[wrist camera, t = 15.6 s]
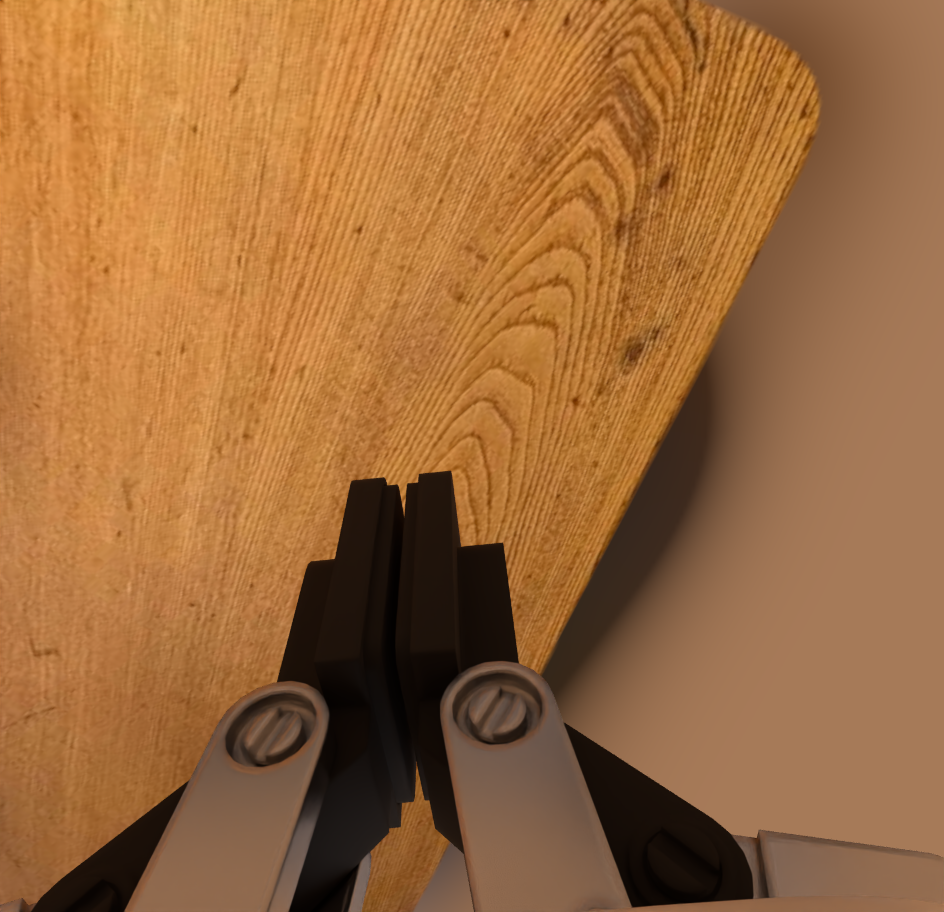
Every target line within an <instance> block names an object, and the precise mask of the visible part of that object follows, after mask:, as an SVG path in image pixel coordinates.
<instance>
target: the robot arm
mask: <svg viewBox="0 0 944 912" xmlns="http://www.w3.org/2000/svg"><path fill="white" fill-rule="evenodd" d="M416 761H417V766H418V771H419V776H420V781H421V785H422V790H423V795H424V799H425V800H430V805H431V810H432V815H433V820H434V825H435V829H436V830H438V831H439V832H440V833H441V834H442V835H443V836H444V837H445V838H447V839H448V840H449V841H450V842H451V843H452V844H453V845H454V846H456V847H457V848H458V849H459V850H460V851H461V852H462V853H463V854H464V858H465V864H466V870H467V875H468V881H469V886H470V892H471V897H472V902H473V908H474V912H944V857H941V856H938V855H934V854H931V853H925V852H918V851H910V850H904V849H896V848H889V847H882V846H875V845H867V844H860V843H852V842H845V841H838V840H830V839H823V838H815V837H808V836H800V835H794V834H786V833H779V832H772V831H765V830H759V831H758V836H757V838H752V837H745V836H738V835H731V834H730V833H729V832H728V831H727V830H726V829H724V828H723V827H722V826H721V825H720V824H718V823H717V822H716V821H715V820H714V819H712V818H711V817H709V816H708V815H706V814H705V813H703V812H702V811H700V810H698V809H697V808H695V807H694V806H692V805H691V804H689V803H688V802H686V801H685V800H683V799H681V798H680V797H678V796H677V795H675V794H674V793H672V792H671V791H669V790H668V789H666V788H665V787H663V786H661V785H660V784H658V783H657V782H655V781H654V780H652V779H651V778H649V777H648V776H646V775H644V774H643V773H641V772H640V771H638V770H637V769H635V768H634V767H632V766H630V765H629V764H627V763H626V762H624V761H623V760H621V759H620V758H618V757H617V756H615V755H614V754H612V753H611V752H609V751H607V750H606V749H604V748H603V747H601V746H600V745H598V744H597V743H595V742H594V741H592V740H590V739H589V738H587V737H586V736H584V735H583V734H581V733H580V732H578V731H577V730H575V729H573V728H572V727H570V726H569V725H567V724H566V723H564V722H563V720H562V717H561V714H560V712H559V709H558V706H557V703H556V701H555V698H554V695H553V693H552V691H551V689H550V688H549V686H548V684H547V682H546V681H545V680H544V679H543V678H542V677H541V676H540V675H539V674H537V673H536V672H535V671H534V670H532V669H530V668H528V667H525V666H523V665H521V664H519V661H518V653H517V646H516V638H515V630H514V622H513V615H512V607H511V599H510V592H509V584H508V576H507V568H506V561H505V553H504V546H503V543H494V544H484V545H474V546H464V547H461V543H460V535H459V527H458V519H457V511H456V503H455V495H454V487H453V479H452V473H451V471H444V472H434V473H423V474H419V478H418V483H408V484H407V490H406V503H405V516H404V513H403V507H402V501H401V496H400V490H399V487H398V485H388V486H387V482H386V479H385V478H384V477H383V478H373V479H363V480H353V481H351V484H350V489H349V493H348V498H347V503H346V508H345V513H344V518H343V522H342V527H341V532H340V537H339V542H338V547H337V551H336V556H335V559H331V560H320V561H311V562H310V563H309V564H308V566H307V569H306V572H305V576H304V579H303V583H302V587H301V591H300V595H299V599H298V603H297V606H296V610H295V614H294V618H293V622H292V626H291V630H290V633H289V637H288V641H287V645H286V649H285V653H284V657H283V661H282V664H281V668H280V672H279V676H278V680H277V682H276V683H271V684H269V685H266V686H263V687H260V688H257V689H255V690H253V691H252V692H250V693H248V694H247V695H245V696H243V697H241V698H240V699H239V700H238V701H237V702H236V703H235V704H234V705H233V706H231V707H230V708H229V709H228V710H227V711H226V713H225V714H224V716H223V717H222V719H221V720H220V722H219V723H218V725H217V727H216V729H215V731H214V733H213V735H212V737H211V739H210V741H209V743H208V745H207V747H206V749H205V751H204V753H203V755H202V757H201V759H200V761H199V763H198V765H197V767H196V769H195V771H194V773H193V775H192V777H191V779H190V780H189V781H188V782H186V783H185V784H184V785H182V786H181V787H180V788H179V789H177V790H176V791H175V792H173V793H172V794H171V795H169V796H168V797H167V798H166V799H164V800H163V801H162V802H160V803H159V804H158V805H156V806H155V807H154V808H153V809H151V810H150V811H149V812H147V813H146V814H145V815H144V816H142V817H141V818H140V819H138V820H137V821H136V822H134V823H133V824H132V825H131V826H129V827H128V828H127V829H125V830H124V831H123V832H122V833H120V834H119V835H118V836H116V837H115V838H114V839H112V840H111V841H110V842H109V843H107V844H106V845H105V846H103V847H102V848H101V849H99V850H98V851H97V852H96V853H94V854H93V855H92V856H90V857H89V858H88V859H87V860H85V861H84V862H83V863H81V864H80V865H79V866H77V867H76V868H75V869H74V870H72V871H71V872H70V873H68V874H67V875H66V876H65V877H63V878H62V879H61V880H60V881H58V882H57V883H56V884H55V885H54V886H53V887H52V888H51V889H50V890H49V891H48V892H47V893H46V894H44V895H43V896H42V897H41V898H40V900H39V901H38V902H37V903H35V904H32V905H28V904H27V903H26V902H25V901H24V899H23V898H21V899H17V900H14V901H11V902H8V903H5V904H2V905H0V912H361V910H362V906H363V901H364V897H365V893H366V888H367V884H368V879H369V875H370V867H371V853H370V851H371V850H372V849H373V848H374V847H375V846H376V845H377V844H378V843H379V842H380V841H381V840H382V839H383V838H384V837H385V836H386V835H387V834H388V833H389V828H396V827H401V809H402V803H405V802H414V798H415V782H416Z"/></svg>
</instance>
